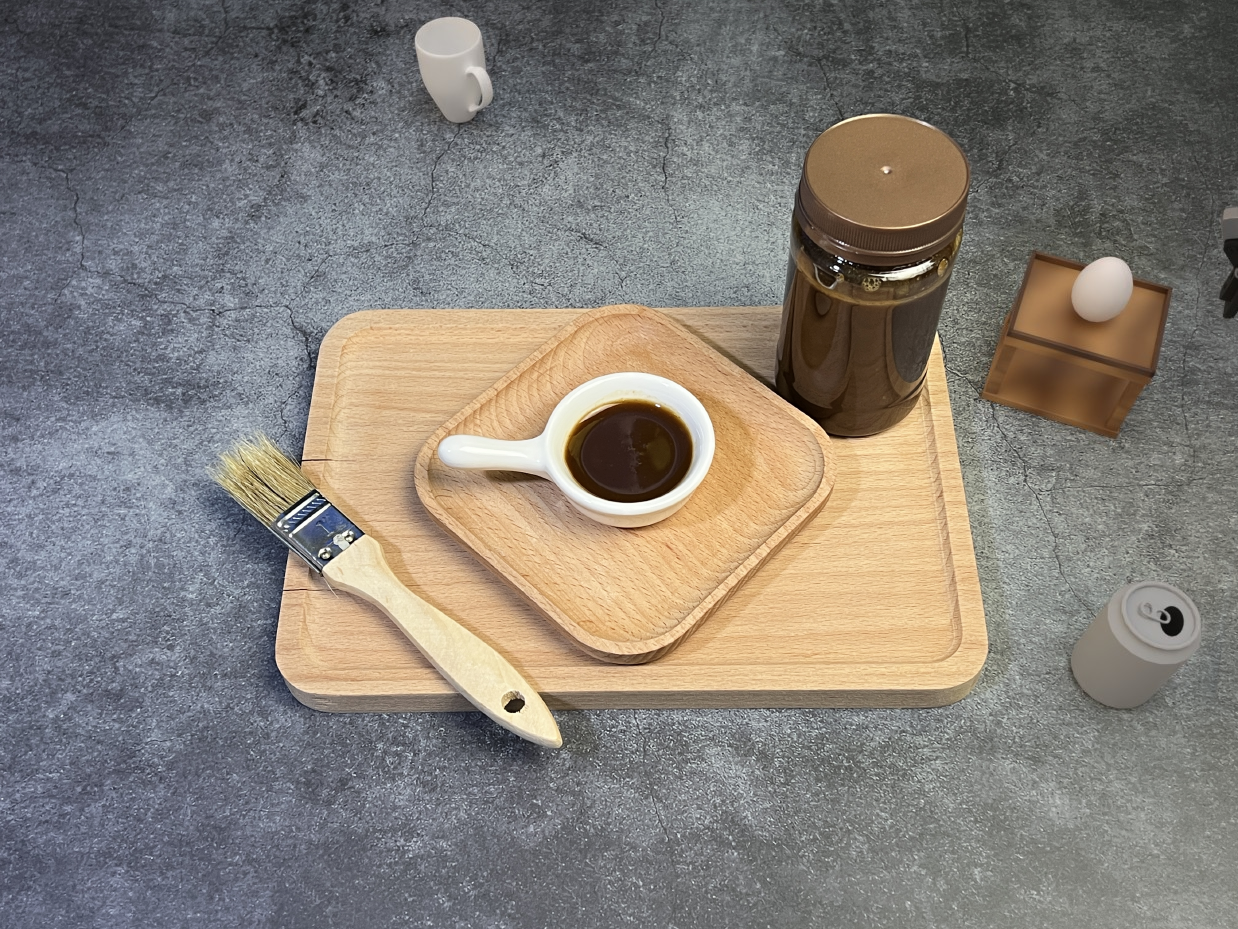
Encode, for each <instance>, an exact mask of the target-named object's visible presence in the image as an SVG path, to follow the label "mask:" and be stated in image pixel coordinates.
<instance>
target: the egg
mask: <svg viewBox="0 0 1238 929" xmlns="http://www.w3.org/2000/svg"><path fill="white" fill-rule="evenodd" d="M1132 277H1133V274H1132V271H1131V269H1130V267H1129V265H1128V264H1127V263H1126V262H1125V261H1124V260H1123V259H1122V258H1118V257H1115V256H1103V257H1101V258H1099V259H1096V260H1094V261H1092V262H1090V263H1089V264H1088V266H1087V267H1086V268H1085V269H1083V270H1082V271H1081V273H1080V274H1079V275H1078V277H1077V279H1076V281H1075V282H1074V285H1073V288H1072V295H1071V298H1072V304H1073V306H1074V309H1075V311H1076V312H1077V313H1078V314H1079V316H1081V317H1082V318H1083V319H1085V320H1088V321H1091V322H1102V321H1107V320H1109V319H1111V318H1114V317H1115V316H1117V315H1118V314H1119V313H1120V312H1121V311H1122V310H1123V309H1124V308H1125V307H1126V305H1127V303H1128V301H1129V299H1130V297H1131V294H1132V290H1133V279H1132Z"/></svg>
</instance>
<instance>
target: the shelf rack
mask: <svg viewBox="0 0 1238 929" xmlns="http://www.w3.org/2000/svg"><path fill="white" fill-rule="evenodd" d="M1088 265H1089V264H1088V263H1083V262H1080V261H1076V260H1072V259H1069V258H1065V257H1061V256H1058V255H1054V254H1050V253H1046V252H1043V251H1039V250H1036V249H1033V250H1032V252H1031V254H1030V257H1029V260H1028V262H1027V265H1026V268H1025V271H1024V275H1023V278H1022V281H1021V284H1020V287H1019V289H1018V292H1017V294H1016V297H1015V298H1014V301H1013V303H1012V306H1011V309H1010V312H1009V313H1007V314H1006V316H1005V319H1004V321H1003V324H1002V328H1001V331H1000V335H999V336H998V337H999V338H998V341H997V344H996V348H995V351H994V354H993V357H992V360H991V363H990V366H989V369H988V373H987V376H986V379H985V382H984V386H983V389H982V392H981V395H980V398H981V399H982V400H987V401H988V402H989V401H990V402H993V403H996V404H1000V405H1002V406H1005V407H1009V408H1012V409H1015V410H1020V411H1022V412H1025V413H1029V414H1032V415H1035V416H1039V417H1042V418H1046V419H1048V420H1051V421H1054V422H1058V423H1061V424H1065V425H1068V426H1071V427H1074V428H1078V429H1081V430H1085V431H1088V432H1091V433H1094V434H1097V435H1102V436H1105V437H1107V438H1110V439H1115V440H1116V439H1117V438H1118V436H1119V434H1120V430H1121V426H1122V424H1123V423H1124V422H1125V420H1126V418H1127V416H1128V414H1129V413H1130V411H1131V410H1132V408H1133V406H1134V405H1135V403H1136V401H1137V400H1138V398H1139V397H1140V395H1141V394H1142V391H1143V389H1145V387H1147V386H1149V385H1150V384H1151V382H1152V380H1153V378H1154V377H1155V375H1156V373H1157V370H1158V369H1157V368H1158V364H1159V359H1160V355H1161V350H1162V349H1161V348H1162V345H1163V339H1164V335H1165V329H1166V324H1167V319H1168V315H1169V314H1168V313H1169V310H1170V305H1171V300H1172V296H1173V291H1174V287H1173V286H1169V285H1166V284H1161V283H1158V282H1154V281H1152V280H1151V281H1150V280H1147V279H1143V278H1139V277H1136V276H1132V279H1133V290H1132V294H1131V297H1130V299H1129V301H1128V303H1127V305H1126V307H1125V308H1124V309H1123V310H1122V311H1121V312H1120V313H1119V314H1118V315H1117V316H1115V317H1114V318H1111V319H1109V320H1107V321H1102V322H1091V321H1088V320H1085V319H1083V318H1082V317H1081V316H1079V314H1078V313H1077V312H1076V311H1075V309H1074V306H1073V304H1072V298H1071V295H1072V288H1073V285H1074V282H1075V281H1076V279H1077V277H1078V275H1079V274H1080V273H1081V271H1082V270H1083V269H1085V268H1086V267H1087V266H1088Z"/></svg>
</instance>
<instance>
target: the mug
mask: <svg viewBox="0 0 1238 929" xmlns="http://www.w3.org/2000/svg"><path fill="white" fill-rule="evenodd" d="M481 32H482V31H481V30H480V28H479V26H477V24H475V23H474V22H472V20H471V21H470V20H469V19H467V18H463V17H457V16H446V17H439V18H436V19H433V20H429V21H428V22H426V23H425V24H424V25H422V26H421V27H420V28H419V29H418V30H417V32H416V34H415V36H414V47H415V52H416V58H417V61H418V62H417V63H418V67H419V72H420V76H421V79H422V82H423V84H424V86H425V88H426V90H427V93H429V95H430V97H431V99H432V100H433V101H434V102H435V104H436V106H437V108H438V109H439V110H440V111H441V113H442V115H443V116H444V118H445V119H446V120H447V121H449V122H450V123H456V124H462V123H467V122H469V121H471V120H472V119H474V118H475V117H476V115H477V113H478V111H480V110H483V109H485V108H486V107H487V106H488V105H489V104H491V102H492V100H493V97H494V90H493V85H492V81H491V78H490V76H489V74H488V72H487V66H486V56H485V49H484V48H485V47H484V41H483V36H482V33H481ZM481 97H482V98H481ZM481 100H482V101H481ZM480 102H481V104H480Z"/></svg>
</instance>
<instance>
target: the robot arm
mask: <svg viewBox="0 0 1238 929" xmlns="http://www.w3.org/2000/svg"><path fill="white" fill-rule="evenodd" d="M1220 230H1221V231H1220V232H1221V238H1222V239H1221V240H1222V244H1223V245H1222V246H1223V247H1222V250H1223V253H1224V254H1225V256H1226V258H1227V259H1228V261H1229V262H1230V264H1231V265H1232V267H1233V268H1232V269H1231V272H1229V274H1228V276H1227V278H1226V280H1225V281H1224V283H1223V284H1222V286H1221V289H1220V291H1219V295H1218V296H1219V297H1218V299H1219V300H1221V301H1223V302H1224V304H1223V305H1224V306H1223V311H1222V312H1223V313H1222V318H1225V319H1228V320H1230V319H1234V318H1235V317H1236V316H1237V314H1238V206H1233V207H1226V208H1224V209H1223V211H1222V214H1221V220H1220Z"/></svg>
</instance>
